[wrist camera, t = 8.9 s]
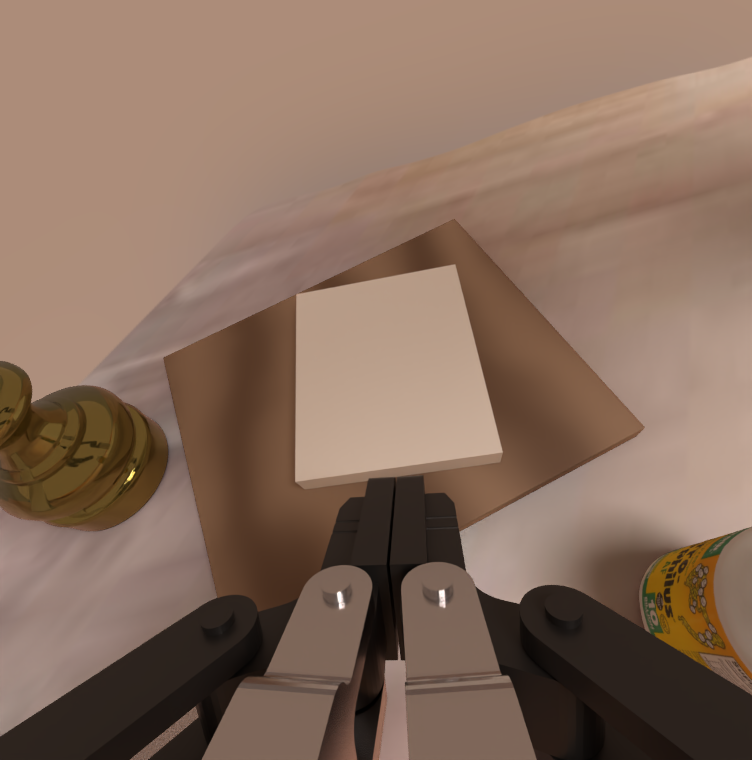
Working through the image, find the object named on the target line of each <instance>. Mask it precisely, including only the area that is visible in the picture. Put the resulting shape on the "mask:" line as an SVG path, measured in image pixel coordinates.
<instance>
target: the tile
mask: <svg viewBox="0 0 752 760" xmlns="http://www.w3.org/2000/svg"><path fill="white" fill-rule="evenodd" d="M502 454H503V451H502V447H501V443H500V439H499V435H498V431H497V427H496V423H495V419H494V415H493V411H492V407H491V403H490V399H489V396H488V392H487V388H486V384H485V380H484V376H483V372H482V368H481V364H480V360H479V356H478V352H477V348H476V344H475V340H474V336H473V332H472V328H471V324H470V320H469V316H468V313H467V309H466V305H465V301H464V297H463V293H462V289H461V285H460V281H459V277H458V273H457V269H456V265H455V264H454V265H449V266H443V267H438V268H433V269H428V270H422V271H417V272H412V273H406V274H401V275H396V276H391V277H385V278H380V279H375V280H369V281H364V282H359V283H354V284H348V285H343V286H338V287H333V288H327V289H322V290H317V291H311V292H306V293H301V294H296V429H295V482H296V483H297V484H299V485H300V486H301V487H302V488H303V489H305V490H306V489H313V488H320V487H327V486H334V485H342V484H349V483H356V482H363V481H368V479H369V478H380V477H399V476H406V475H413V474H420V473H428V472H435V471H442V470H449V469H456V468H464V467H471V466H478V465H485V464H492V463H499V462H500V461H501V457H502Z"/></svg>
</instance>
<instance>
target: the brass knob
mask: <svg viewBox="0 0 752 760" xmlns="http://www.w3.org/2000/svg"><path fill="white" fill-rule="evenodd" d="M31 398H32V385H31V381H30V378H29V376H28V375H27V373H26V372H25V371H24V370H22V369H21V368H20V367H18V366H16V365H14V364H11V363H8V362H5V361H0V507H1V508H2V509H3V510H4V511H5V512H7V513H9V514H10V515H12V516H14V517H17V518H20V519H24V520H34V521H44V522H45V523H47V524H50V525H53V526H57V527H69V528H73V529H78V530H82V531H99V530H104V529H107V528H110V527H113V526H115V525H117V524H119V523H121V522H123V521H125V520H126V519H128V518H129V517H131V516H132V515H133V514H135V513H136V512H137V511H138V510H139V509H140V508H141V507H142V506H143V505H144V504H145V503H146V502H147V501H148V500H149V499H150V497H151V496H152V495H153V493H154V492H155V490H156V489H157V487H158V485H159V483H160V481H161V479H162V477H163V474H164V471H165V468H166V464H167V458H168V445H167V440H166V437H165V434H164V432H163V430H162V429H161V427H160V426H159V425H158V424H157V423H156V422H155V421H154V420H152V419H151V418H149V417H147V416H146V415H144V414H142V413H141V412H140V411H139V410H138V409H137V408H135V407H134V406H132V405H130V404H127V403H124V402H123V401H122V400H121V399H119V398H118V397H117V396H116V395H115V394H113V393H112V392H110V391H108V390H106V389H104V388H101V387H96V386H87V385H82V386H73V387H68V388H65V389H61V390H59V391H56V392H54V393H51V394H49V395H47V396H45V397H43V398H42V399H39V400H37V401H35V402H33V403H31Z"/></svg>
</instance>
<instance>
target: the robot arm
mask: <svg viewBox="0 0 752 760" xmlns="http://www.w3.org/2000/svg"><path fill="white" fill-rule="evenodd" d="M332 532H333V533H332V534H331V538H330V541H329V544H328V547H327V551H326V554H325V557H324V560H323V564H322V567H321V570H320V572H318V573H317V574H315V575H314V576H313V577H312V578H310V579H309V580H308V582H307V583H306V584H305V586H304V588H303V590H302V592H301V594H300V597H299V598H297V599H295V600H293V601H291V602H289V603H286V604H283V605H280V606H277V607H273V608H269V609H266V610H262V611H259V612H258V610H257V606H256V604H255V602H254V601H253V600H252V599H250V598H249V597H246V596H243V595H227V596H222V597H219V598H216V599H214V600H211V601H209V602H207V603H206V604H204V605H202V606H201V607H199V608H198V609H196V610H194V611H193V612H191V613H190V614H188V615H187V616H185V617H184V618H182V619H181V620H179V621H178V622H176V623H174V624H173V625H171V626H170V627H168V628H167V629H165V630H164V631H162V632H161V633H159V634H158V635H156V636H154V637H153V638H151V639H150V640H148V641H147V642H145V643H144V644H142V645H141V646H139V647H138V648H136V649H134V650H133V651H131V652H130V653H128V654H127V655H125V656H124V657H122V658H121V659H119V660H118V661H116V662H114V663H113V664H111V665H110V666H108V667H107V668H105V669H104V670H102V671H101V672H99V673H98V674H96V675H94V676H93V677H91V678H90V679H88V680H87V681H85V682H84V683H82V684H81V685H79V686H78V687H76V688H74V689H73V690H71V691H70V692H68V693H67V694H65V695H64V696H62V697H61V698H59V699H58V700H56V701H54V702H53V703H51V704H50V705H48V706H47V707H45V708H44V709H42V710H41V711H39V712H38V713H36V714H34V715H33V716H31V717H30V718H28V719H27V720H25V721H24V722H22V723H21V724H19V725H18V726H16V727H14V728H13V729H11V730H10V731H8V732H7V733H5V734H4V735H2V736H1V737H0V760H130V759H131V758H132V757H133V756H134V755H136V754H137V753H138V752H139V751H141V750H142V749H143V748H144V747H146V746H147V745H148V744H149V743H150V742H152V741H153V740H154V739H155V738H157V737H158V736H159V735H160V734H162V733H163V732H164V731H165V730H166V729H168V728H169V727H170V726H171V725H173V724H174V723H175V722H176V721H178V720H179V719H180V718H181V717H182V716H184V715H185V714H186V713H187V712H189V711H190V710H191V709H192V708H194V707H195V706H196V709H197V713H198V716H199V718H197V719H196V720H195V721H194V722H193V723H191V724H190V725H189V726H188V727H187V728H185V729H184V730H183V731H182V732H181V733H180V734H178V735H177V736H176V737H175V738H174V739H172V740H171V741H170V742H169V743H168V744H166V745H165V746H164V747H163V748H162V749H160V750H159V751H158V752H157V753H156V754H154V755H153V756H152V757H151V758H150V759H148V760H379V755H380V748H381V740H382V733H383V726H384V718H385V711H386V704H387V692H386V684H385V677H384V673H385V660H398V645H399V647H400V656H401V660H405V663H406V680H407V682H405V694H406V713H407V731H408V749H409V760H752V695H751V694H750V693H748V692H746V691H745V690H743V689H741V688H740V687H738V686H736V685H735V684H733V683H732V682H730V681H728V680H727V679H725V678H723V677H722V676H720V675H718V674H717V673H715V672H713V671H712V670H710V669H708V668H707V667H705V666H703V665H702V664H700V663H698V662H697V661H695V660H694V659H692V658H690V657H689V656H687V655H685V654H684V653H682V652H680V651H679V650H677V649H675V648H674V647H672V646H670V645H669V644H667V643H665V642H664V641H662V640H660V639H659V638H657V637H655V636H654V635H652V634H651V633H649V632H647V631H646V630H644V629H642V628H641V627H639V626H637V625H636V624H634V623H632V622H631V621H629V620H627V619H626V618H624V617H622V616H621V615H619V614H617V613H616V612H614V611H613V610H611V609H609V608H608V607H606V606H604V605H603V604H601V603H599V602H598V601H596V600H594V599H593V598H591V597H589V596H588V595H586V594H584V593H582V592H580V591H578V590H575V589H572V588H569V587H565V586H559V585H545V586H540V587H537V588H534V589H532V590H530V591H529V592H527V593H526V594H525V595H524V597H523V598H522V600H521V602H520V604H517V603H513V602H508V601H504V600H500V599H497V598H494V597H492V596H489V595H487V594H485V593H484V592H482V591H481V590H479V589H478V588H477V587H476V586H475V584H474V582H473V579H472V578H471V576H470V575H469V574H468V573H467V572H466V568H465V562H464V557H463V551H462V545H461V539H460V533H459V528H458V521H457V515H456V509H455V503H454V502H453V501H452V500H451V499H450V498H449V497H448V496H447V495H446V494H445V493H426V494H425V485H424V476H423V475H417V476H399V477H397V482H396V478H395V477H380V478H369V479H368V483H367V488H366V492H365V497H350V498H349V499H348V500H347V501H346V502H345V503H344V504H343V505H342V506H341V507H340V509H339V512H338V515H337V518H336V523H335V525H334V528H333V531H332Z"/></svg>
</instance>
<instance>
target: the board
mask: <svg viewBox="0 0 752 760" xmlns="http://www.w3.org/2000/svg"><path fill="white" fill-rule="evenodd" d="M454 264H455V265H456V269H457V273H458V277H459V281H460V285H461V289H462V293H463V297H464V301H465V305H466V309H467V313H468V316H469V320H470V324H471V328H472V332H473V336H474V340H475V344H476V348H477V352H478V356H479V360H480V364H481V368H482V372H483V376H484V380H485V384H486V388H487V392H488V396H489V399H490V403H491V407H492V411H493V415H494V419H495V423H496V427H497V431H498V435H499V439H500V443H501V447H502V451H503V454H502V457H501V461H500V462H499V463H492V464H485V465H478V466H471V467H464V468H456V469H449V470H442V471H435V472H428V473H420V474H413V475H406V476H417V475H423V476H424V485H425V494H426V493H445V494H446V495H447V496H448V497H449V498H450V499H451V500H452V501H453V502H454V503H455V509H456V515H457V521H458V528H459V532H460V531H461V530H463V529H465V528H467V527H469V526H471V525H473V524H474V523H476V522H478V521H480V520H482V519H484V518H486V517H487V516H489V515H491V514H493V513H495V512H497V511H499V510H500V509H502V508H504V507H506V506H508V505H510V504H512V503H513V502H515V501H517V500H519V499H521V498H523V497H524V496H526V495H528V494H530V493H532V492H534V491H536V490H537V489H539V488H541V487H543V486H545V485H547V484H549V483H550V482H552V481H554V480H556V479H558V478H560V477H562V476H563V475H565V474H567V473H569V472H571V471H573V470H575V469H576V468H578V467H580V466H582V465H584V464H586V463H587V462H589V461H591V460H593V459H595V458H597V457H599V456H600V455H602V454H604V453H606V452H608V451H610V450H612V449H613V448H615V447H617V446H619V445H621V444H623V443H625V442H626V441H628V440H630V439H632V438H634V437H636V436H637V435H638V434H639V433H640V432H641V431H642V430H643V429H644V428H645V427H644V426H643V425H642V424H641V423H640V422H639V420H638V419H637V418H636V417H635V416H634V415H633V414H632V413H631V412H630V411H629V410H628V408H627V407H626V406H625V405H624V404H623V403H622V402H621V401H620V400H619V399H618V397H617V396H616V395H615V394H614V393H613V392H612V391H611V390H610V389H609V388H608V387H607V385H606V384H605V383H604V382H603V381H602V380H601V379H600V378H599V377H598V376H597V374H596V373H595V372H594V371H593V370H592V369H591V368H590V367H589V366H588V365H587V364H586V362H585V361H584V360H583V359H582V358H581V357H580V356H579V355H578V354H577V353H576V351H575V350H574V349H573V348H572V347H571V346H570V345H569V344H568V343H567V342H566V341H565V339H564V338H563V337H562V336H561V335H560V334H559V333H558V332H557V331H556V330H555V328H554V327H553V326H552V325H551V324H550V323H549V322H548V321H547V320H546V319H545V318H544V316H543V315H542V314H541V313H540V312H539V311H538V310H537V309H536V308H535V307H534V305H533V304H532V303H531V302H530V301H529V300H528V299H527V298H526V297H525V296H524V295H523V293H522V292H521V291H520V290H519V289H518V288H517V287H516V286H515V285H514V284H513V282H512V281H511V280H510V279H509V278H508V277H507V276H506V275H505V274H504V273H503V272H502V270H501V269H500V268H499V267H498V266H497V265H496V264H495V263H494V262H493V261H492V259H491V258H490V257H489V256H488V255H487V254H486V253H485V252H484V251H483V250H482V249H481V247H480V246H479V245H478V244H477V243H476V242H475V241H474V240H473V239H472V238H471V236H470V235H469V234H468V233H467V232H466V231H465V230H464V229H463V228H462V227H461V226H460V224H459V223H458V222H457V221H456V220H455V219H453V220H451V221H449V222H447V223H445V224H443V225H441V226H439V227H437V228H435V229H432V230H430V231H428V232H426V233H424V234H422V235H420V236H418V237H416V238H414V239H411V240H409V241H407V242H405V243H403V244H401V245H399V246H397V247H395V248H393V249H390V250H388V251H386V252H384V253H382V254H380V255H378V256H376V257H374V258H372V259H370V260H367V261H365V262H363V263H361V264H359V265H357V266H355V267H353V268H351V269H349V270H346V271H344V272H342V273H340V274H338V275H336V276H334V277H332V278H330V279H328V280H325V281H323V282H321V283H319V284H317V285H315V286H313V287H311V288H309V289H307V290H304V291H302V292H300V293H298V294H301V293H306V292H311V291H317V290H322V289H327V288H333V287H338V286H343V285H348V284H354V283H359V282H364V281H369V280H375V279H380V278H385V277H391V276H396V275H401V274H406V273H412V272H417V271H422V270H428V269H433V268H438V267H443V266H449V265H454ZM164 363H165V367H166V372H167V376H168V380H169V385H170V389H171V394H172V398H173V403H174V407H175V411H176V416H177V420H178V425H179V429H180V433H181V438H182V442H183V447H184V451H185V456H186V460H187V464H188V469H189V473H190V478H191V482H192V487H193V491H194V495H195V500H196V504H197V509H198V513H199V517H200V522H201V526H202V531H203V535H204V540H205V544H206V548H207V553H208V557H209V562H210V566H211V570H212V575H213V579H214V584H215V588H216V593H217V597H218V598H219V597H222V596H227V595H243V596H246V597H249V598H250V599H252V600H253V601H254V602H255V604H256V606H257V610H258V612H259V611H262V610H266V609H269V608H273V607H277V606H280V605H283V604H286V603H289V602H291V601H293V600H295V599H297V598H299V597H300V594H301V592H302V590H303V588H304V586H305V584H306V583H307V582H308V580H309V579H310V578H312V577H313V576H314V575H315V574H317V573H318V572H320V570H321V567H322V564H323V560H324V557H325V554H326V551H327V547H328V544H329V541H330V538H331V534H332V533H333V532H332V531H333V528H334V525H335V523H336V518H337V515H338V512H339V509H340V507H341V506H342V505H343V504H344V503H345V502H346V501H347V500H348V499H349V498H350V497H365V492H366V488H367V483H368V481H363V482H356V483H349V484H342V485H334V486H327V487H320V488H313V489H306V490H305V489H303V488H302V487H301V486H300V485H299V484H297V483H296V482H295V429H296V295H294V296H292V297H290V298H288V299H286V300H284V301H281V302H279V303H277V304H275V305H273V306H271V307H269V308H267V309H265V310H263V311H260V312H258V313H256V314H254V315H252V316H250V317H248V318H246V319H244V320H242V321H239V322H237V323H235V324H233V325H231V326H229V327H227V328H225V329H223V330H221V331H219V332H216V333H214V334H212V335H210V336H208V337H206V338H204V339H202V340H200V341H198V342H195V343H193V344H191V345H189V346H187V347H185V348H183V349H181V350H179V351H177V352H174V353H172V354H170V355H168V356H166V357H164ZM395 478H396V482H397V477H395Z"/></svg>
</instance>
